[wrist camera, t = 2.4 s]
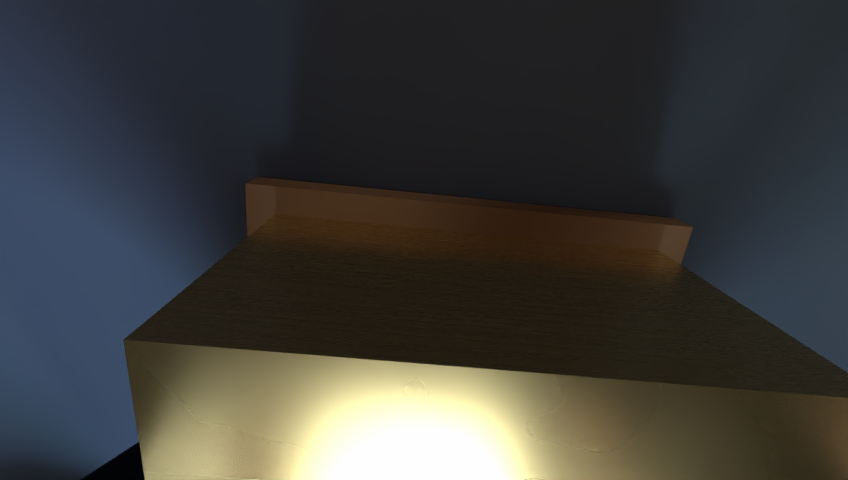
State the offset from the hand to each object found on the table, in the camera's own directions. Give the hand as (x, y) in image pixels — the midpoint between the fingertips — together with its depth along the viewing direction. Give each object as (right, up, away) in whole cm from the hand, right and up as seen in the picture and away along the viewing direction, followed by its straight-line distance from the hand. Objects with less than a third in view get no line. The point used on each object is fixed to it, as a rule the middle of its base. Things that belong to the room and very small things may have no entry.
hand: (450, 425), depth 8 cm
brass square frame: (0, 0, +1) cm, 1 cm away
